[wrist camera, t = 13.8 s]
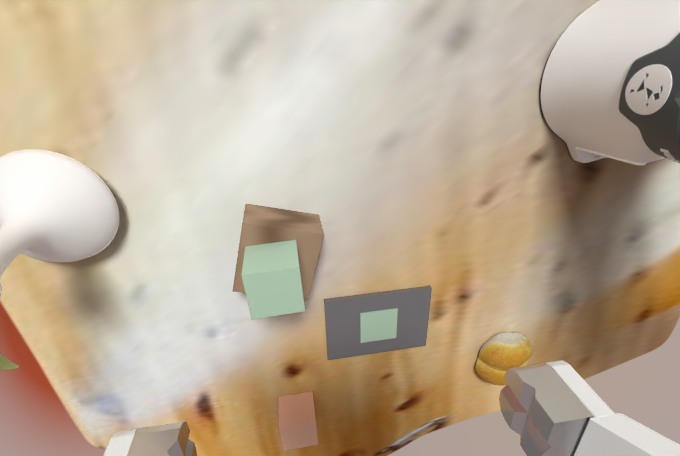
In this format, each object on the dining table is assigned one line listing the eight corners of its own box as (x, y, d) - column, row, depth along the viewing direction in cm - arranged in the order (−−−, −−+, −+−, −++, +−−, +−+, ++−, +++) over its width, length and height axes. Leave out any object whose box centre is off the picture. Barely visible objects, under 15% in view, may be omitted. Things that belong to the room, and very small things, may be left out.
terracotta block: (312, 390, 54) (316, 421, 50) (314, 413, 56) (318, 444, 52) (277, 396, 53) (278, 428, 49) (281, 418, 56) (282, 451, 51)
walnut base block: (318, 214, 41) (323, 234, 37) (304, 273, 45) (308, 298, 40) (245, 202, 39) (242, 223, 35) (236, 265, 43) (232, 291, 38)
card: (429, 285, 48) (432, 289, 48) (424, 342, 53) (426, 346, 52) (324, 299, 47) (324, 303, 46) (327, 356, 51) (328, 361, 50)
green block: (296, 239, 37) (299, 266, 32) (301, 280, 39) (305, 311, 35) (245, 246, 36) (241, 275, 32) (253, 287, 39) (251, 319, 34)
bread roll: (468, 375, 58) (481, 397, 55) (481, 332, 54) (495, 352, 51) (516, 370, 60) (531, 391, 56) (531, 328, 56) (549, 347, 52)
